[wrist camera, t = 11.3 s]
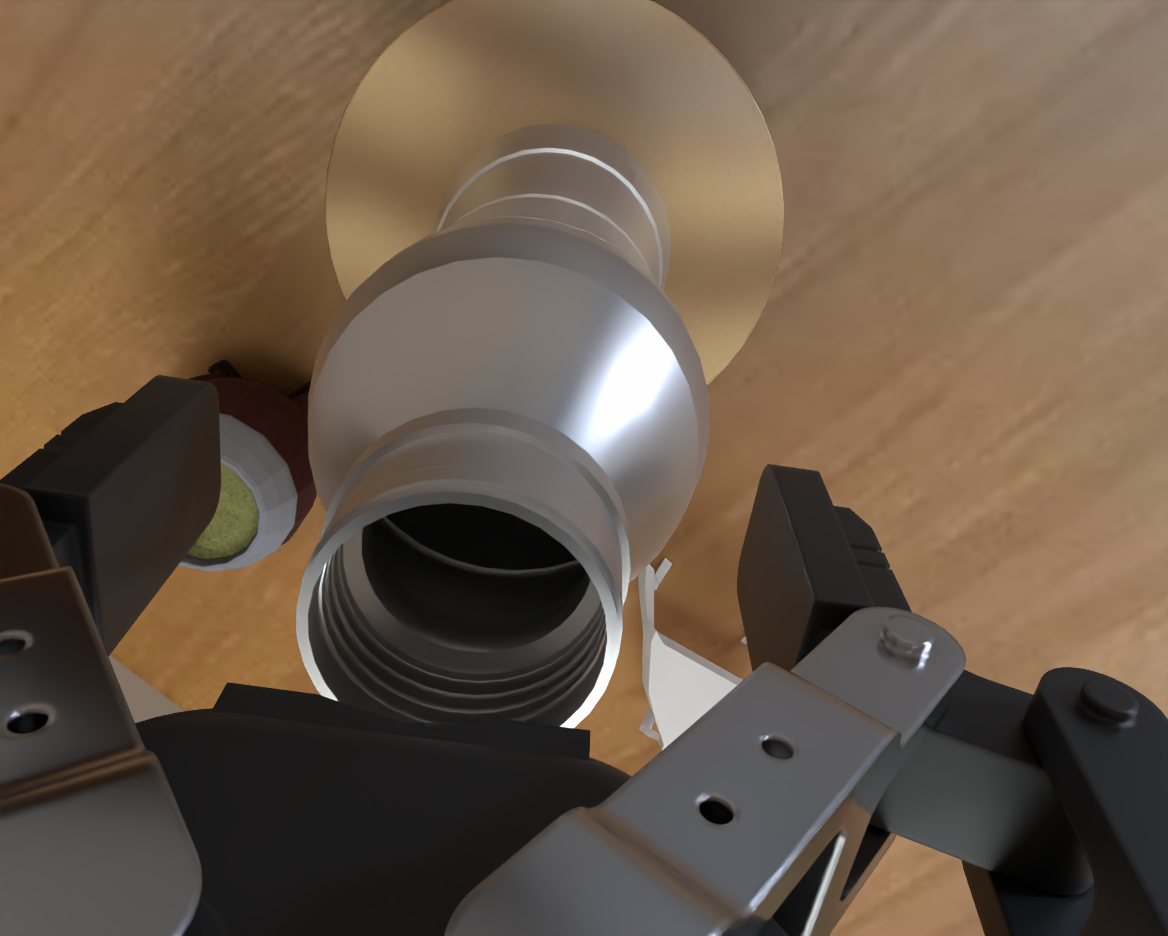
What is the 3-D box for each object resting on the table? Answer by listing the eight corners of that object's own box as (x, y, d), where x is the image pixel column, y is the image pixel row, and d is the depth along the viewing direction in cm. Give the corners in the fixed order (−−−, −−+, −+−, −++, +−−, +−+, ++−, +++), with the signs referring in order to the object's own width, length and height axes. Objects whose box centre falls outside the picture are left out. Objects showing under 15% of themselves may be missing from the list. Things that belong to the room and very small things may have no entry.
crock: (399, -49, 33) (330, -63, 25) (784, 13, 34) (837, 20, 26) (380, 324, 39) (319, 409, 31) (706, 371, 40) (730, 468, 32)
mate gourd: (379, 445, 42) (267, 660, 28) (242, 526, 44) (77, 762, 30) (268, 303, 39) (85, 466, 25) (128, 396, 41) (-110, 593, 28)
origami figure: (841, 669, 46) (865, 740, 42) (703, 752, 49) (712, 827, 44) (690, 501, 42) (698, 559, 38) (548, 600, 45) (541, 666, 41)
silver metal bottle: (418, 292, 29) (106, 763, 11) (494, 71, 26) (240, 237, 8) (611, 370, 30) (605, 920, 12) (705, 166, 27) (876, 494, 9)
